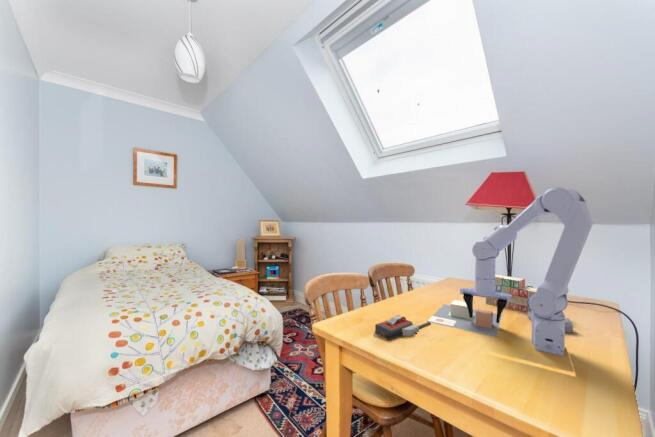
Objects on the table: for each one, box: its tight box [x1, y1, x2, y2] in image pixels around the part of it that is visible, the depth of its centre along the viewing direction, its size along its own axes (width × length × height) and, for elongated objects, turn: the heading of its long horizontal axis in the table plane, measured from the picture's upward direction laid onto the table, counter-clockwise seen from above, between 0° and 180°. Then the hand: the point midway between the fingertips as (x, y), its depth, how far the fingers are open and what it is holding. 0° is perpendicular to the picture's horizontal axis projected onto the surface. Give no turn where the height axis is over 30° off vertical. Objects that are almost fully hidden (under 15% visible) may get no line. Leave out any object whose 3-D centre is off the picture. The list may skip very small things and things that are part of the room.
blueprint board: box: [426, 303, 503, 338], centre depth 97 cm, size 24×20×1 cm
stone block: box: [526, 312, 574, 334], centre depth 94 cm, size 12×5×10 cm
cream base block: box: [450, 299, 470, 319], centre depth 101 cm, size 6×6×4 cm
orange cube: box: [476, 307, 494, 328], centre depth 91 cm, size 4×4×4 cm
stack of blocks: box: [485, 274, 538, 313], centre depth 110 cm, size 21×6×12 cm, turn 36°
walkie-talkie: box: [374, 314, 432, 340], centre depth 88 cm, size 9×4×20 cm
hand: (484, 319), depth 91 cm, fingers open, 7 cm apart
